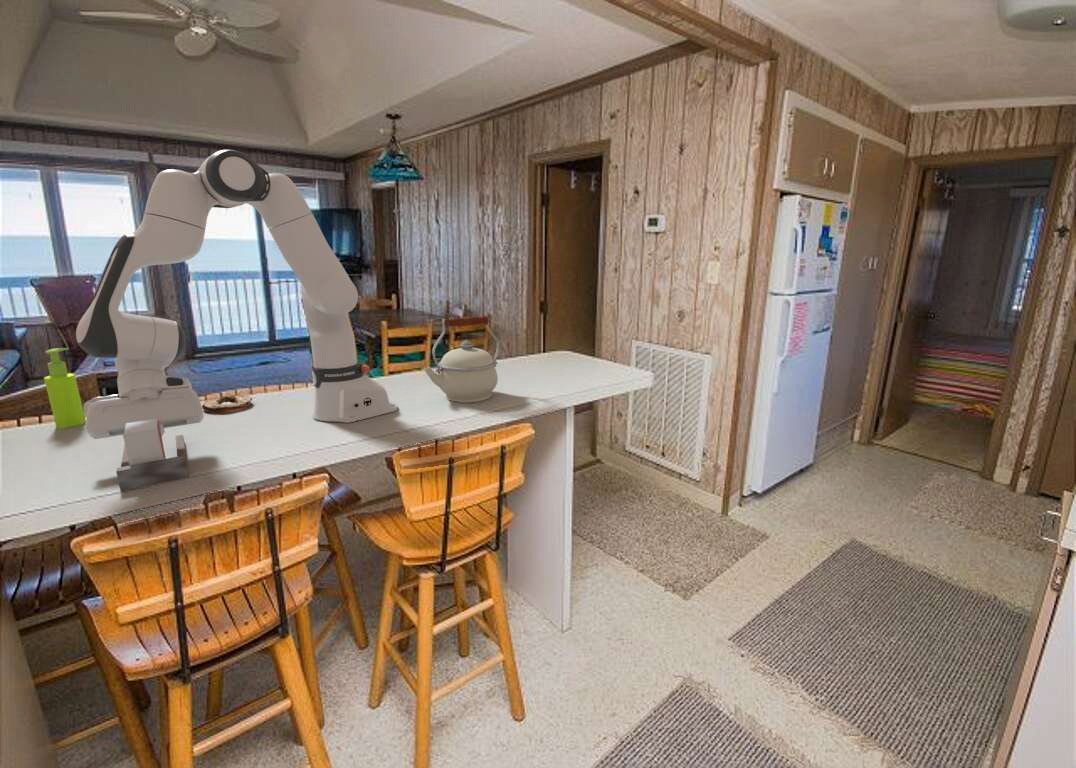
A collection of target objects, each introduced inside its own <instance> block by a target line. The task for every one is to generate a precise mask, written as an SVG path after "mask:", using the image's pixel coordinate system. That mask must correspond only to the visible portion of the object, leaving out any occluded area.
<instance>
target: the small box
mask: <svg viewBox="0 0 1076 768" xmlns="http://www.w3.org/2000/svg"><path fill="white" fill-rule="evenodd" d="M122 437H123V441H124V445H125V447H126V451H127V456H128V460H129V465H136V464H141V463H146V462H152V461H157V460H162V459H167V457H166V454H165V453H166V452H165V447H164V442H163V436H161V430H160V425H159V420H158V419H151V420H145V421H138V422H131V423H126V424H125V430H124V433H123V435H122Z"/></svg>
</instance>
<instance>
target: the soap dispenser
mask: <svg viewBox="0 0 1076 768" xmlns="http://www.w3.org/2000/svg"><path fill="white" fill-rule="evenodd" d="M68 350H69V348H68V347H58V348H56V347H55V348H50V349H47V350H45V351H44V353H45V354H47V355H49V358H50V361H49V362H48V363H47V364H46V365H47V369H48V372H49V375H48V376H44V377H43V381H44V384H45V388H46V391H47V392H46V393H47V395H48V400H49V403H50V408H51V410H52V411H51V412H52V415H53V419H54V424H55V427H56V428H57V427H58V428H57V429H67V427H69V428H74V427H79V426H82V425H85V424H86V415H85V414H84V408H83V404H82V399H81V396H80V391H79V387H78V383H77V379H76V374H75V373H71V372H70V373H69V372H68V368H67V363H66V362H65V361H63V360H61V359H60V358H61V357H60V354H59V352H62V351H68ZM65 427H66V428H65Z"/></svg>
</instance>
